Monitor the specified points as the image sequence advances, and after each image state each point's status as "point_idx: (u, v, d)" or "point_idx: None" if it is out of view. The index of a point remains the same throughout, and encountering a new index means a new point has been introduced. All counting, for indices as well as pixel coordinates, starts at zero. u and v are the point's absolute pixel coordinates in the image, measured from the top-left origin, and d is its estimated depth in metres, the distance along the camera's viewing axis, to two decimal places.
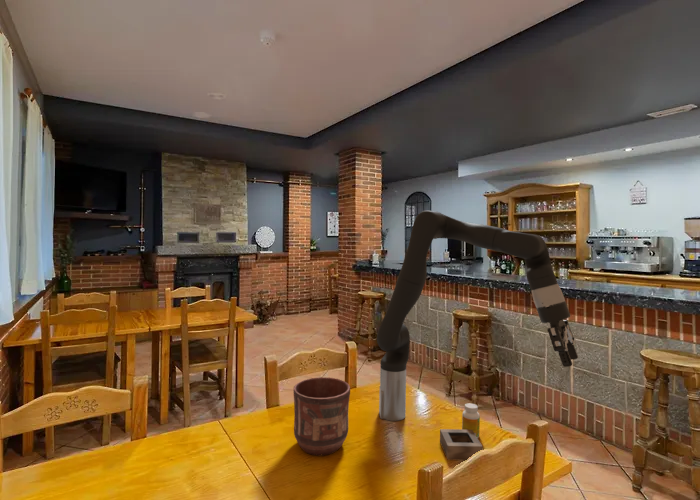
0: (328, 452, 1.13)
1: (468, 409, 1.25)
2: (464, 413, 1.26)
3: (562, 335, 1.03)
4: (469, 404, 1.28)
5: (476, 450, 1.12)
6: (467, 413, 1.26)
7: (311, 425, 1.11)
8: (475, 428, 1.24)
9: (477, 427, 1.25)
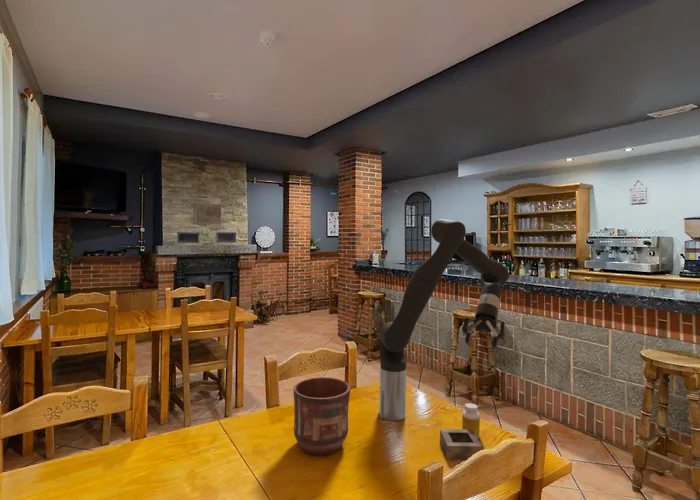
0: (328, 452, 1.13)
1: (468, 409, 1.25)
2: (464, 413, 1.26)
3: None
4: (469, 404, 1.28)
5: (476, 450, 1.12)
6: (467, 413, 1.26)
7: (311, 425, 1.11)
8: (475, 428, 1.24)
9: (477, 427, 1.25)
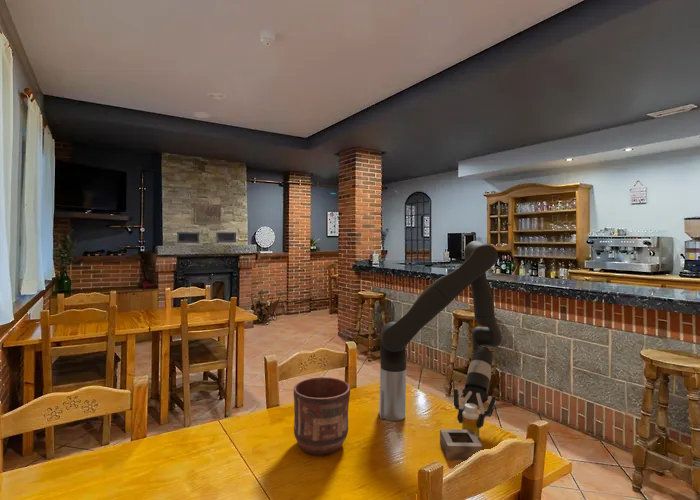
0: (328, 452, 1.13)
1: (468, 409, 1.25)
2: (464, 413, 1.26)
3: (483, 403, 1.29)
4: (469, 404, 1.28)
5: (476, 450, 1.12)
6: (467, 413, 1.26)
7: (311, 425, 1.11)
8: (475, 428, 1.24)
9: (477, 427, 1.25)
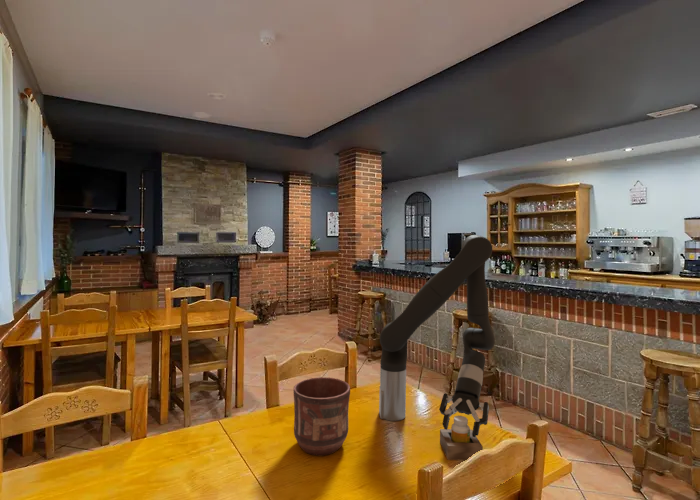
0: (328, 452, 1.13)
1: (457, 422, 1.16)
2: (453, 426, 1.17)
3: None
4: (459, 416, 1.18)
5: (476, 450, 1.12)
6: (456, 426, 1.16)
7: (311, 425, 1.11)
8: None
9: (467, 442, 1.15)
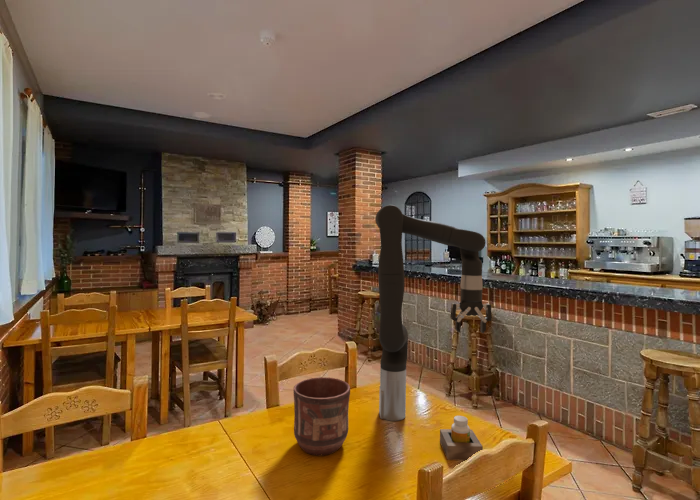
0: (328, 452, 1.13)
1: (457, 422, 1.16)
2: (453, 426, 1.17)
3: None
4: (459, 417, 1.18)
5: (476, 450, 1.12)
6: (456, 426, 1.16)
7: (311, 425, 1.11)
8: None
9: (467, 442, 1.15)
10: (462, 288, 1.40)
